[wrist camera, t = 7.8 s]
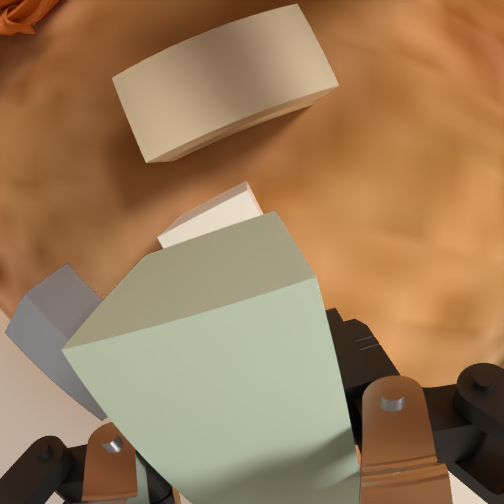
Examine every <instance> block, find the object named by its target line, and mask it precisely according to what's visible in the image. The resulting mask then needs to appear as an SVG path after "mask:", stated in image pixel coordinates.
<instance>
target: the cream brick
mask: <svg viewBox="0 0 504 504" xmlns="http://www.w3.org/2000/svg"><path fill="white" fill-rule="evenodd" d="M260 215H263V213H262V211H261V209H260V207H259V205H258V203H257V201H256V199H255V197H254V195H253V193H252V191H251V189H250V187H249V185H248V183H247V181H245V182H243V183H241V184H239V185H237V186H235V187H233V188H231V189H229V190H227V191H225V192H223V193H221V194H219V195H217V196H215V197H213V198H211V199H209V200H207V201H206V202H204V203H202V204H200V205H198V206H196V207H194V208H192V209H190V210H189V211H187V212H185V213H183V214H181V215H180V216H179V217H178V218H177V219H176V220H175V221H174V222H173V223H172V224H171V225H169V226H168V227H167V228H166V229H165V230H164V231H163V232H162V233H161V234H160V235H159V236H158V237H157V238H158V240H159V242H160V244H161V245H162V247H163V249H164V248H167V247H170V246H172V245H175V244H178V243H181V242H184V241H187V240H189V239H192V238H195V237H198V236H201V235H204V234H207V233H210V232H212V231H215V230H218V229H221V228H224V227H227V226H230V225H233V224H236V223H239V222H242V221H245V220H248V219H251V218H254V217H257V216H260Z"/></svg>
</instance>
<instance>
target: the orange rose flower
mask: <svg viewBox="0 0 504 504" xmlns="http://www.w3.org/2000/svg"><path fill="white" fill-rule="evenodd" d="M58 1H59V0H0V34H1V35H7V36H10V35H11V36H13V34H14V33H17V32H22V33H24V34H35V31H34V29H33V27H32V26H31V24H33V25H34V26H35V23H36V22H37V21H39V20H40V19H41V18H42V17H44V16H45V14H46V13H47V12H49V11H50V10H51V9H52V8H53V7H54V6H55V5H56V4H57V2H58Z"/></svg>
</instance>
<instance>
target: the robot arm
mask: <svg viewBox="0 0 504 504" xmlns="http://www.w3.org/2000/svg"><path fill="white" fill-rule="evenodd" d="M325 312H326V316H327V320H328V324H329V328H330V332H331V336H332V340H333V345H334V349H335V353H336V357H337V362H338V366H339V371H340V375H341V380H342V384H343V389H344V393H345V398H346V403H347V408H348V413H349V418H350V423H351V428H352V433H353V438H354V444H355V445H358V448H359V450H360V453H361V469H360V489H359V503H358V504H453V503H452V495H451V487H450V480H449V473H448V471H450V472H451V473H452V474H453V475H454V476H455V477H457V478H458V479H459V480H460V481H461V482H463V483H464V484H465V485H466V486H467V487H468V488H470V489H471V490H472V491H473V492H474V493H476V494H477V495H478V496H479V497H481V498H482V499H483V500H484V501H485V502H487V503H488V504H504V369H502V368H501V367H499V366H496V365H494V364H490V363H478V364H474V365H471V366H469V367H467V368H466V369H464V370H463V371H462V372H461V374H460V375H459V377H458V380H457V384H453V385H447V386H440V387H432V388H424V387H421V386H420V384H419V383H418V382H416V381H415V380H413V379H411V378H409V377H405V376H401V375H400V374H399V372H398V371H397V369H396V368H395V366H394V365H393V363H392V362H391V360H390V359H389V357H388V356H387V354H386V353H385V351H384V350H383V348H382V347H381V345H379V342H378V341H377V339H376V338H375V337H374V335H373V333H372V332H371V331H370V329H369V328H368V326H367V325H366V324H364V323H362V322H360V321H358V320H356V319H352V320H348V321H345V322H343V320H342V318H341V316H340V315H339V313H338V311H337V310H336V308H332V309H328V310H325ZM53 492H55V493H56V494H58V495H59V496H60V497H61V498H62V499H63V500H65V501H64V503H63V504H181V502H180V496H179V492H178V491H177V490H176V489H175V488H174V487H173V486H172V485H171V484H170V483H169V482H168V481H167V480H165V479H164V478H163V477H162V476H161V475H160V474H159V473H158V472H157V471H156V470H155V469H154V468H153V467H152V466H151V465H150V464H149V463H148V462H147V461H146V460H145V458H144V457H143V456H142V455H141V454H140V453H139V452H138V451H137V450H136V449H135V448H134V447H133V445H132V444H131V443H130V442H129V441H128V440H127V439H126V438H125V436H124V435H123V434H122V433H121V432H120V431H119V429H118V428H117V427H116V426H115V425H114V423H113V422H110V423H107V424H105V425H103V426H101V427H99V428H98V429H97V430H96V431H94V432H93V434H92V435H91V436H90V438H89V440H88V444H86V445H81V446H77V447H71V448H67V447H66V446H65V445H64V443H63V442H62V441H61V440H60V439H59V438H58V437H56V436H45V437H42V438H40V439H38V440H36V441H35V442H34V443H33V444H32V445H31V446H30V447H29V448H28V449H27V450H26V451H25V452H24V453H23V454H22V456H21V457H20V458H19V459H18V460H17V461H16V462H15V463H14V464H13V466H11V468H10V469H9V470H8V471H7V472H6V473H5V474H4V475H3V476H2V478H1V479H0V504H45V502H46V501H47V500H48V499H49V498H50V496H51V495H52V494H53Z"/></svg>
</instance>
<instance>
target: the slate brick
mask: <svg viewBox="0 0 504 504" xmlns="http://www.w3.org/2000/svg"><path fill="white" fill-rule="evenodd" d="M102 301H103V300H102V299H101V298H100V297H99V296H98V295H97V294H96V293H95V292H94V291H93V290H92V289H91V288H90V287H89V286H88V285H87V284H86V283H85V282H84V281H83V280H82V278H81V277H80V276H79V275H78V274H77V273H76V272H75V271H74V270H73V269H72V268H71V267H70V266H69V265H68V264H67V263H66V264H65V265H64V266H62V267H61V268H59V269H58V270H57V271H55V272H54V273H52V274H51V275H50V276H48V277H47V278H45V279H44V280H43V281H41V282H40V283H39V284H37V285H36V286H35V287H33V288H32V289H31V290H29V291H28V292H27V293H25V294H24V296H23V298H22V300H21V302H20V304H19V305H18V307H17V309H16V311H15V313H14V315H13V317H12V319H11V321H10V323H9V325H8V327H7V329H6V331H5V333H6V334H7V336H8V337H9V338H10V339H11V340H12V341H13V342H14V343H15V344H16V345H17V346H18V347H19V349H20V350H21V351H22V352H23V353H24V354H25V355H26V356H27V357H28V358H29V359H30V360H31V361H32V362H33V363H34V364H35V365H36V366H37V367H38V368H39V369H40V370H42V371H43V372H44V373H45V374H46V375H47V376H48V377H49V378H50V379H51V380H52V381H54V382H55V383H56V384H57V385H58V386H59V387H60V388H61V389H62V390H64V391H65V392H66V393H67V394H68V395H70V396H71V397H72V398H73V399H74V400H76V401H77V402H78V403H79V404H81V405H82V406H83V407H84V408H86V409H87V410H88V411H89V412H91V413H92V414H93V415H95V416H96V417H97V418H99V419H100V420H104V419H105V418H107V417H108V416H107V415H106V413H105V412H104V411H103V410H102V408H101V407H100V406H99V404H98V403H97V402H96V400H95V399H94V398H93V396H92V395H91V394H90V392H89V391H88V389H87V388H86V387H85V385H84V384H83V382H82V381H81V380H80V378H79V377H78V375H77V374H76V372H75V371H74V369H73V368H72V366H71V365H70V363H69V361H68V360H67V358H66V357H65V355H64V354H63V352H62V350H61V349H62V348H63V347H64V346H65V345H66V343H67V342H68V341H69V340H70V339H71V337H72V336H73V335H74V334H75V333H76V331H77V330H78V329H79V328H80V327H81V325H82V324H83V323H84V322H85V321H86V320H87V318H88V317H89V316H90V315H91V314H92V313H93V312H94V310H95V309H96V308H97V307H98V306H99V305H100V304H101V303H102Z"/></svg>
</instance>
